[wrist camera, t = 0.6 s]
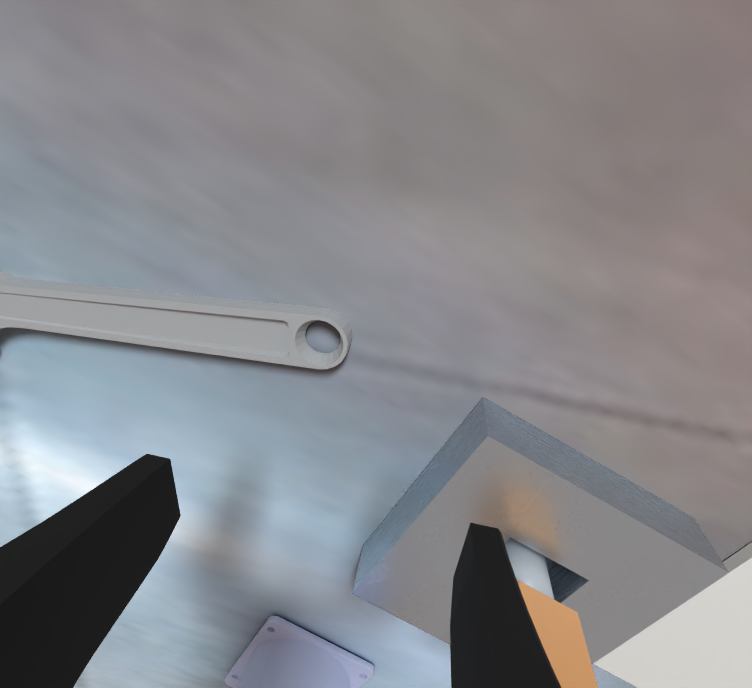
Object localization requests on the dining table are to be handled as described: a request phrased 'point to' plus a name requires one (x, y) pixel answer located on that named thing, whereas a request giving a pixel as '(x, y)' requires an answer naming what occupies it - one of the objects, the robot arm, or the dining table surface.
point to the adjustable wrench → (172, 320)
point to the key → (552, 619)
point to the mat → (696, 638)
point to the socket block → (536, 533)
